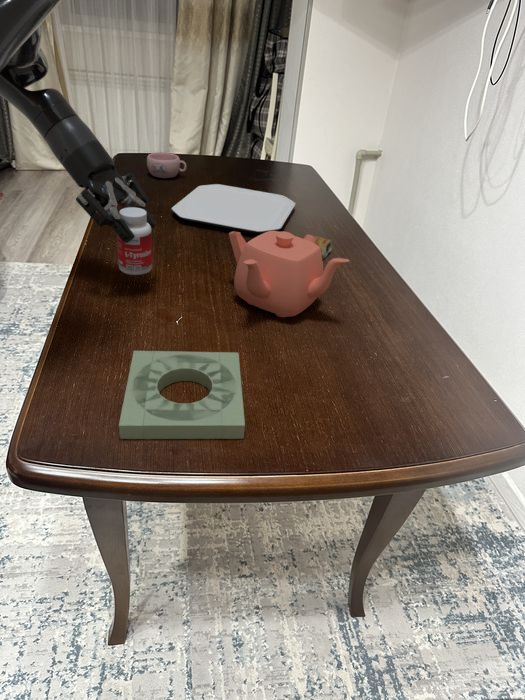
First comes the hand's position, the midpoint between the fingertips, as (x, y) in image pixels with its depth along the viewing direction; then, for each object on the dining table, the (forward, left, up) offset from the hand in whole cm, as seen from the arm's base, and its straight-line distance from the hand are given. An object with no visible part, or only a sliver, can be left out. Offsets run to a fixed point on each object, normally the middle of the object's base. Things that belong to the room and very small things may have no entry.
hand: (141, 233), depth 88 cm
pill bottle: (-2, +1, -8) cm, 8 cm away
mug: (0, +72, -12) cm, 73 cm away
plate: (+20, +44, -12) cm, 49 cm away
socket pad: (+9, -31, -11) cm, 34 cm away
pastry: (+37, +21, -12) cm, 44 cm away
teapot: (+26, -3, -12) cm, 28 cm away
